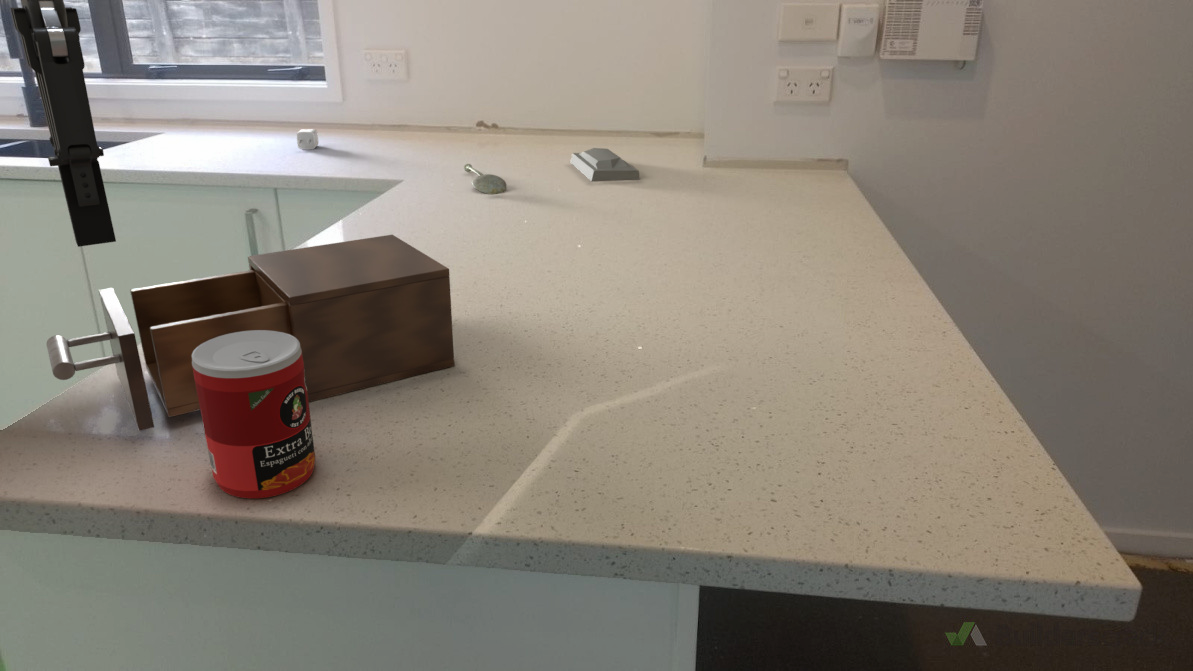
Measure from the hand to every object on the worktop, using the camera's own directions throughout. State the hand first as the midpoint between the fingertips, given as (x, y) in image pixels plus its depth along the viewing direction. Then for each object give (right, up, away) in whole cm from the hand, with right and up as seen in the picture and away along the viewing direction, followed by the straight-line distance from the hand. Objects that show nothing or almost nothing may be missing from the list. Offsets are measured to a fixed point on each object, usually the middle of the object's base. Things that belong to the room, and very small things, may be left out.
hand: (96, 241), depth 68 cm
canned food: (+14, -19, -1) cm, 24 cm away
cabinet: (+15, -10, +20) cm, 27 cm away
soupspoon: (+17, +23, +100) cm, 104 cm away
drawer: (+2, -13, +11) cm, 17 cm away
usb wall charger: (-28, +37, +131) cm, 139 cm away
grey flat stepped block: (+42, +28, +113) cm, 124 cm away
